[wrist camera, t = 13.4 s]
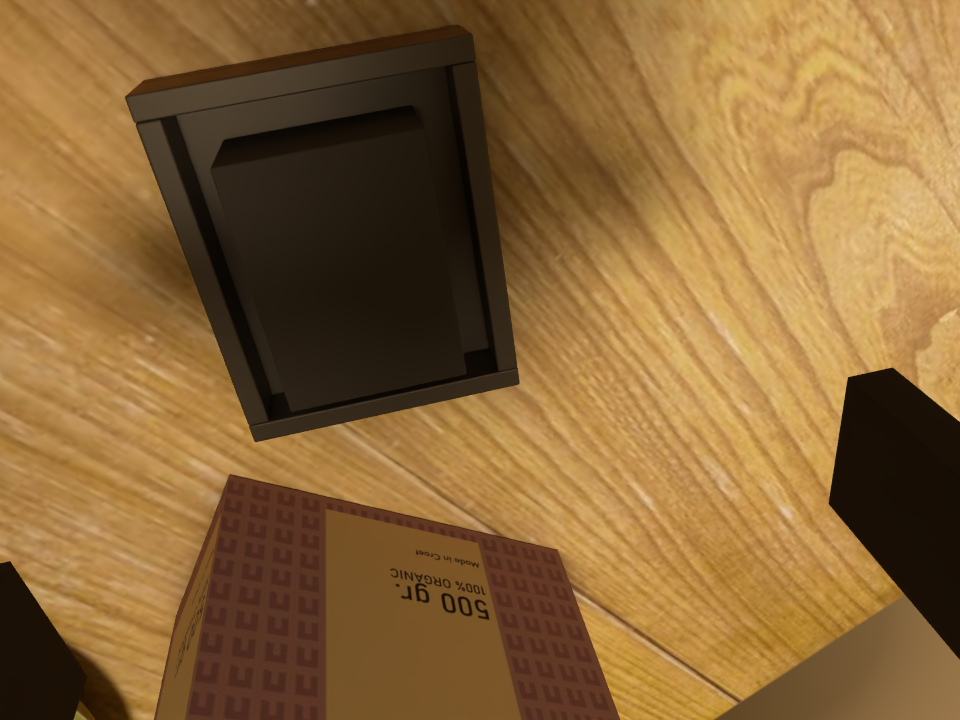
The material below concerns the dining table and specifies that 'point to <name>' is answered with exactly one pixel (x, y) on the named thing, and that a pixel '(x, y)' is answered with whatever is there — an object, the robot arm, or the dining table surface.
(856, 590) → the dining table surface
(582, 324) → the dining table surface
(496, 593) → the box
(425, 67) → the dark brown shallow tray
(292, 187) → the top pad
